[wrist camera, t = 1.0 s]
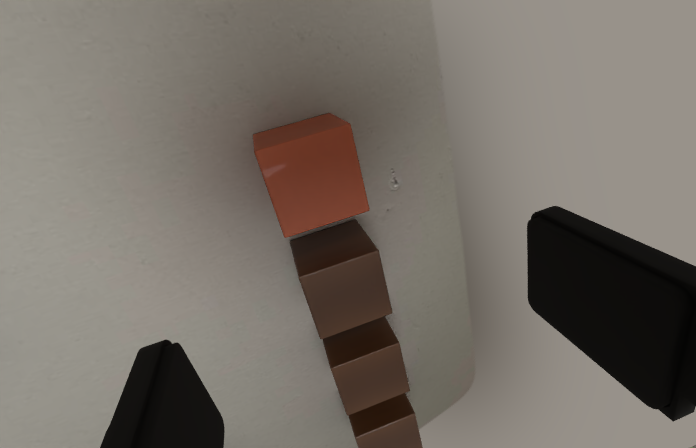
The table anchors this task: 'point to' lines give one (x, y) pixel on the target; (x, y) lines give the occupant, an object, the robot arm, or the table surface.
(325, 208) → the orange-red cube
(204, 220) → the table surface
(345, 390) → the small boxes
